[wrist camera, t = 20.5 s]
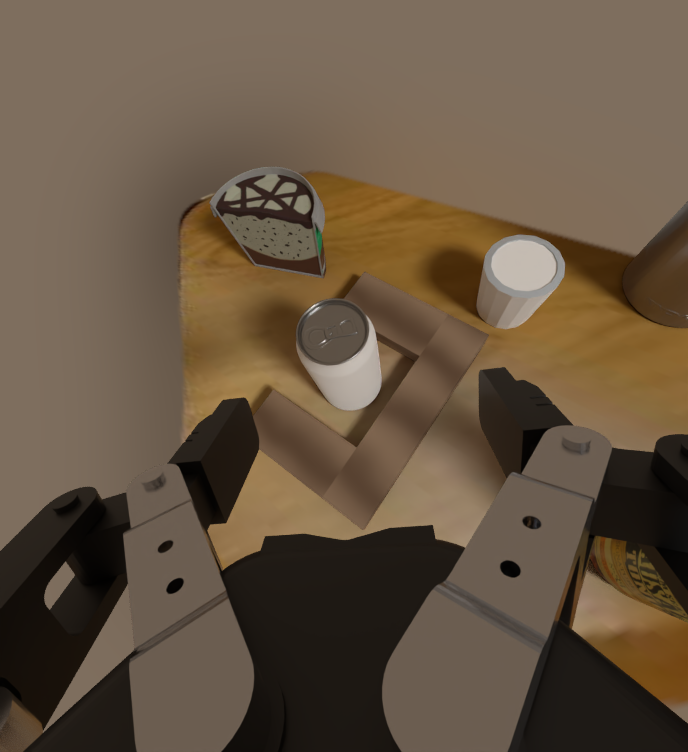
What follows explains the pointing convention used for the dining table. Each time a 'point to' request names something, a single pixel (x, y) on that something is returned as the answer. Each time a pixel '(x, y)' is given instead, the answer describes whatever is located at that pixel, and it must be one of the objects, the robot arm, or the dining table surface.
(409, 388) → the notched board
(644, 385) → the dining table surface
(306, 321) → the can
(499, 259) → the white short cylinder
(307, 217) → the food container
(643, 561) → the sauce bottle
